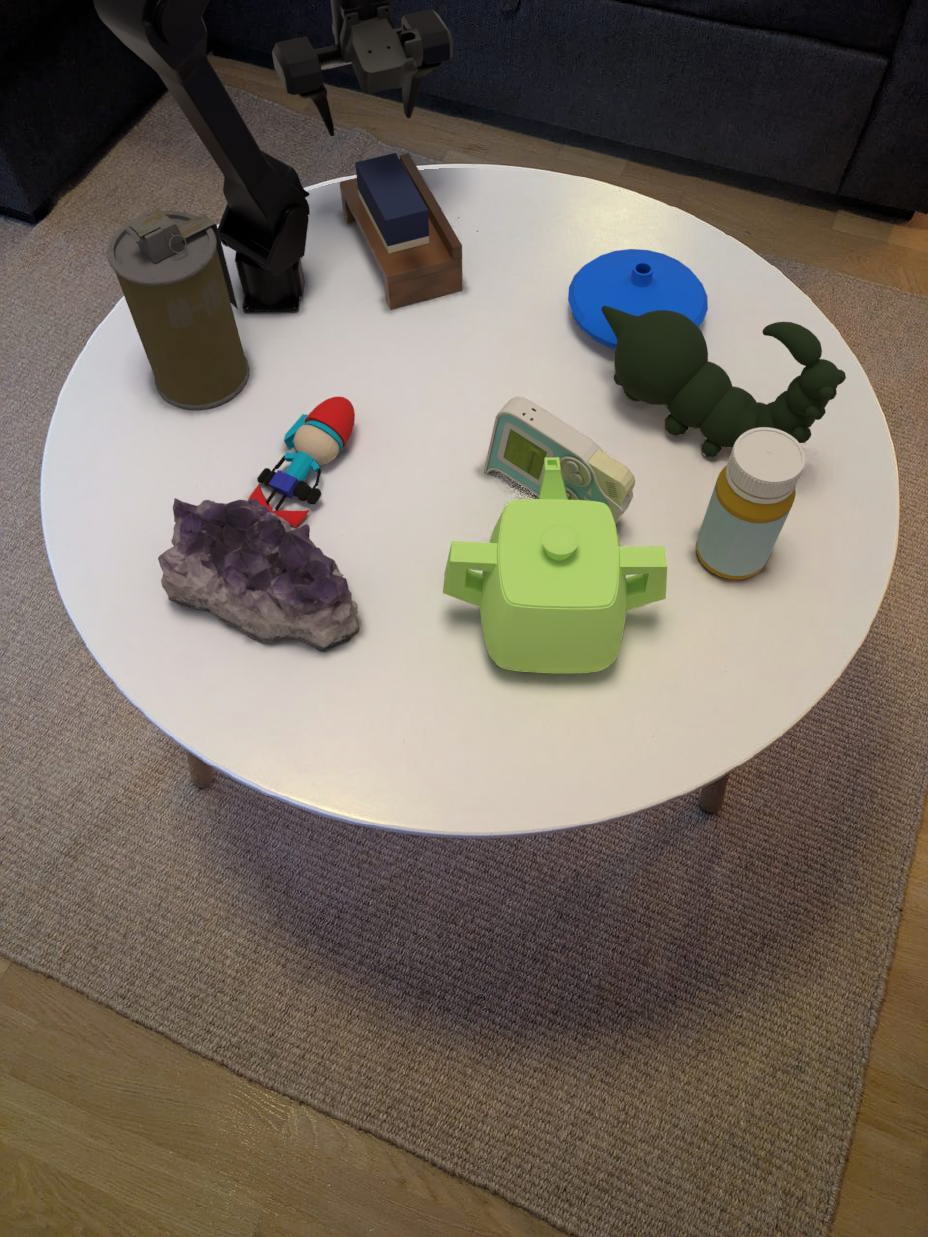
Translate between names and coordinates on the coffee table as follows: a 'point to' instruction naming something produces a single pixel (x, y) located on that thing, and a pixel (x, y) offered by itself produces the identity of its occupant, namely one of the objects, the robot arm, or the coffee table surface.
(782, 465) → the bottle
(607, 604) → the teapot
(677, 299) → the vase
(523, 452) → the handheld gaming console
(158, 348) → the canister
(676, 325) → the green caterpillar figure
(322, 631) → the geode
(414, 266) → the sharpening stone holder
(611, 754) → the coffee table surface
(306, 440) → the toy figure
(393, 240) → the dark blue rectangular block
